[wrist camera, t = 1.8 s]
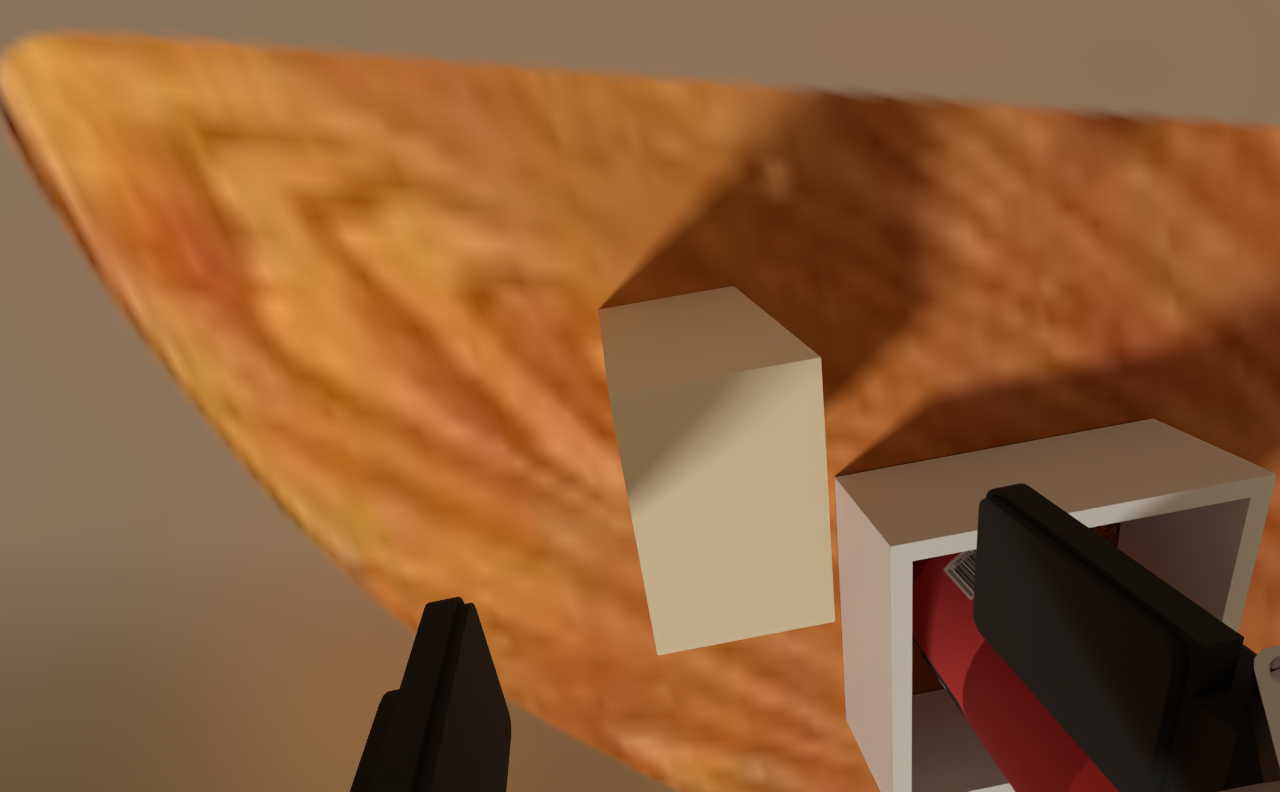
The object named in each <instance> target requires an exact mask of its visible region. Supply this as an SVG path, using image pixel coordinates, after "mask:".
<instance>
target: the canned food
mask: <svg viewBox="0 0 1280 792" xmlns="http://www.w3.org/2000/svg"><path fill="white" fill-rule="evenodd" d="M975 567H976V549H975V550H969V551H964V552H959V553H954V554H948V555H943V556H938V557H932V558H927V559H922V560H917V561H916V562H915V563H914V565H913V583H912V641H913V643H914V644H915V646H916V647H917V649H918V650H919V651H920V653H921V654H922V656H923V657H924V659H925V660H926V662H927V663H928V665H929V666H930V668H931V669H932V671H933V672H934V673H935V675H936V676H937V678H938V679H939V681H940V682H941V684H942V685H943V687H944V688H945V690H946V691H947V692H948V694H949V695H950V697H951V698H952V700H953V701H954V703H955V704H956V706H957V707H958V709H959V710H960V712H961V713H962V714H963V716H964V717H965V719H966V720H967V722H968V723H969V725H970V726H971V728H972V729H973V731H974V732H975V733H976V735H977V736H978V738H979V739H980V741H981V742H982V744H983V745H984V747H985V748H986V750H987V751H988V753H989V754H990V755H991V757H992V758H993V760H994V761H995V763H996V764H997V766H998V767H999V769H1000V770H1001V772H1002V773H1003V774H1004V776H1005V777H1006V779H1007V780H1008V782H1009V783H1010V785H1011V786H1012V788H1013V789H1014V791H1015V792H1119V791H1118V790H1117V789H1116V788H1115V787H1114V786H1113V784H1112V783H1111V782H1110V781H1109V780H1108V779H1107V778H1106V776H1105V775H1104V774H1103V773H1102V772H1101V771H1100V770H1099V768H1098V767H1097V766H1096V765H1095V764H1094V763H1093V762H1092V760H1091V759H1090V758H1089V757H1088V756H1087V755H1086V754H1085V752H1084V751H1083V750H1082V749H1081V748H1080V747H1079V746H1078V744H1077V743H1076V742H1075V741H1074V740H1073V739H1072V738H1071V737H1070V735H1069V734H1068V733H1067V732H1066V731H1065V730H1064V729H1063V727H1062V726H1061V725H1060V724H1059V723H1058V722H1057V721H1056V719H1055V718H1054V717H1053V716H1052V715H1051V714H1050V713H1049V711H1048V710H1047V709H1046V708H1045V707H1044V706H1043V705H1042V703H1041V702H1040V701H1039V700H1038V699H1037V698H1036V697H1035V695H1034V694H1033V693H1032V692H1031V691H1030V690H1029V689H1028V688H1027V686H1026V685H1025V684H1024V683H1023V682H1022V681H1021V680H1020V678H1019V677H1018V676H1017V675H1016V674H1015V673H1014V672H1013V670H1012V669H1011V668H1010V667H1009V666H1008V665H1007V664H1006V662H1005V661H1004V660H1003V659H1002V658H1001V657H1000V656H999V654H998V653H997V652H996V651H995V650H994V649H993V648H992V646H991V645H990V644H989V643H988V642H987V641H986V640H985V639H984V637H983V636H982V635H981V634H980V632H979V631H978V629H977V627H976V624H975V622H974V618H973V603H974V585H975ZM1242 646H1243V647H1244V648H1246V649H1247V650H1248V651H1250V652H1251V653H1253V654H1254V655H1255V656H1257V654H1256V653H1255V652H1253V651H1252V650H1250V649H1249V648H1248V647H1246V646H1245V645H1243V644H1242Z"/></svg>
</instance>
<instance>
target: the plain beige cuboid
mask: <svg viewBox="0 0 1280 792" xmlns="http://www.w3.org/2000/svg"><path fill="white" fill-rule="evenodd" d="M598 311H599V319H600V327H601V336H602V344H603V352H604V360H605V368H606V376H607V385H608V393H609V399H610V404H611V410H612V415H613V420H614V426H615V431H616V436H617V442H618V447H619V452H620V458H621V463H622V468H623V474H624V479H625V484H626V490H627V495H628V500H629V505H630V511H631V516H632V521H633V527H634V532H635V537H636V543H637V548H638V553H639V559H640V564H641V569H642V575H643V580H644V585H645V591H646V596H647V601H648V607H649V612H650V617H651V623H652V628H653V633H654V639H655V644H656V649H657V655H663V654H668V653H673V652H678V651H684V650H689V649H694V648H699V647H705V646H710V645H715V644H720V643H725V642H731V641H736V640H741V639H746V638H752V637H757V636H762V635H767V634H772V633H778V632H783V631H788V630H793V629H799V628H804V627H809V626H814V625H819V624H825V623H830V622H835V612H834V593H833V574H832V555H831V536H830V517H829V498H828V479H827V459H826V440H825V421H824V402H823V383H822V364H821V357H820V356H819V355H818V354H817V353H815V352H814V351H813V350H812V349H810V348H809V347H808V346H807V345H805V344H804V343H803V342H802V341H801V340H799V339H798V338H797V337H796V336H794V335H793V334H792V333H791V332H790V331H788V330H787V329H786V328H785V327H783V326H782V325H781V324H780V323H778V322H777V321H776V320H775V319H774V318H772V317H771V316H770V315H769V314H767V313H766V312H765V311H764V310H763V309H761V308H760V307H759V306H758V305H756V304H755V303H754V302H753V301H751V300H750V299H749V298H748V297H747V296H745V295H744V294H743V293H742V292H740V291H739V290H738V289H737V288H736V287H734V286H730V287H724V288H718V289H713V290H707V291H701V292H696V293H690V294H684V295H678V296H673V297H667V298H661V299H656V300H650V301H644V302H638V303H633V304H627V305H621V306H616V307H610V308H604V309H598Z"/></svg>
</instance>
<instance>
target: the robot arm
mask: <svg viewBox="0 0 1280 792" xmlns="http://www.w3.org/2000/svg"><path fill="white" fill-rule="evenodd" d="M973 618H974V622H975V624H976V627H977V629H978V631H979V632H980V634H981V635H982V636H983V637H984V639H985V640H986V641H987V642H988V643H989V644H990V645H991V646H992V648H993V649H994V650H995V651H996V652H997V653H998V654H999V656H1000V657H1001V658H1002V659H1003V660H1004V661H1005V662H1006V664H1007V665H1008V666H1009V667H1010V668H1011V669H1012V670H1013V672H1014V673H1015V674H1016V675H1017V676H1018V677H1019V678H1020V680H1021V681H1022V682H1023V683H1024V684H1025V685H1026V686H1027V688H1028V689H1029V690H1030V691H1031V692H1032V693H1033V694H1034V695H1035V697H1036V698H1037V699H1038V700H1039V701H1040V702H1041V703H1042V705H1043V706H1044V707H1045V708H1046V709H1047V710H1048V711H1049V713H1050V714H1051V715H1052V716H1053V717H1054V718H1055V719H1056V721H1057V722H1058V723H1059V724H1060V725H1061V726H1062V727H1063V729H1064V730H1065V731H1066V732H1067V733H1068V734H1069V735H1070V737H1071V738H1072V739H1073V740H1074V741H1075V742H1076V743H1077V744H1078V746H1079V747H1080V748H1081V749H1082V750H1083V751H1084V752H1085V754H1086V755H1087V756H1088V757H1089V758H1090V759H1091V760H1092V762H1093V763H1094V764H1095V765H1096V766H1097V767H1098V768H1099V770H1100V771H1101V772H1102V773H1103V774H1104V775H1105V776H1106V778H1107V779H1108V780H1109V781H1110V782H1111V783H1112V784H1113V786H1114V787H1115V788H1116V789H1117V790H1118V791H1119V792H1280V646H1274V647H1271V648H1268V649H1264V650H1262V651H1261V652H1260V653H1259V654H1258V655H1257V656H1255V655H1254V654H1253V653H1251V652H1250V651H1248V650H1247V649H1246V648H1244V647H1243V646H1242V644H1243V640H1244V637H1243V636H1242V635H1240V634H1239V633H1237V632H1236V631H1234V630H1233V629H1232V628H1230V627H1229V626H1227V625H1226V624H1225V623H1223V622H1222V621H1220V620H1219V619H1217V618H1216V617H1215V616H1213V615H1212V614H1210V613H1209V612H1207V611H1206V610H1205V609H1203V608H1202V607H1200V606H1199V605H1198V604H1196V603H1195V602H1193V601H1192V600H1190V599H1189V598H1188V597H1186V596H1185V595H1183V594H1182V593H1180V592H1179V591H1178V590H1176V589H1175V588H1173V587H1172V586H1171V585H1169V584H1168V583H1166V582H1165V581H1163V580H1162V579H1161V578H1159V577H1158V576H1156V575H1155V574H1153V573H1152V572H1151V571H1149V570H1148V569H1146V568H1145V567H1144V566H1142V565H1141V564H1139V563H1138V562H1136V561H1135V560H1134V559H1132V558H1131V557H1129V556H1128V555H1126V554H1125V553H1124V552H1122V551H1121V550H1119V549H1118V548H1117V547H1115V546H1114V545H1112V544H1111V543H1109V542H1108V541H1107V540H1105V539H1104V538H1102V537H1101V536H1099V535H1098V534H1097V533H1095V532H1094V531H1092V530H1091V529H1089V528H1088V527H1087V526H1085V525H1084V524H1082V523H1081V522H1080V521H1078V520H1077V519H1075V518H1074V517H1072V516H1071V515H1070V514H1068V513H1067V512H1065V511H1064V510H1062V509H1061V508H1060V507H1058V506H1057V505H1055V504H1054V503H1053V502H1051V501H1050V500H1048V499H1047V498H1045V497H1044V496H1043V495H1041V494H1040V493H1038V492H1037V491H1035V490H1034V489H1033V488H1031V487H1030V486H1028V485H1026V484H1023V483H1019V484H1014V485H1009V486H1004V487H999V488H994V489H991V490H989V491H988V493H987V494H986V498H985V499H982V500H981V501H980V503H979V512H978V530H977V548H976V567H975V585H974V603H973ZM510 741H511V721H510V715H509V711H508V708H507V705H506V702H505V698H504V695H503V692H502V689H501V686H500V683H499V680H498V676H497V673H496V670H495V667H494V664H493V661H492V658H491V654H490V651H489V648H488V645H487V642H486V639H485V635H484V632H483V629H482V626H481V623H480V620H479V617H478V613H477V610H476V608H475V605H474V604H473V603H468V604H464V602H463V600H462V598H461V597H455V598H450V599H445V600H440V601H435V602H430V603H428V604H426V606H425V608H424V611H423V615H422V618H421V621H420V624H419V628H418V631H417V634H416V637H415V641H414V644H413V647H412V651H411V654H410V657H409V660H408V663H407V667H406V670H405V673H404V676H403V680H402V683H401V686H400V689H398V690H393V691H388V692H387V693H386V694H385V695H384V696H383V697H382V700H381V702H380V704H379V707H378V710H377V713H376V716H375V719H374V722H373V725H372V728H371V730H370V733H369V736H368V739H367V742H366V745H365V749H364V751H363V754H362V757H361V760H360V763H359V766H358V769H357V772H356V775H355V778H354V781H353V784H352V787H351V790H350V792H506V786H507V776H508V765H509V764H508V763H509V753H510Z"/></svg>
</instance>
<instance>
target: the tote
mask: <svg viewBox="0 0 1280 792" xmlns="http://www.w3.org/2000/svg"><path fill="white" fill-rule="evenodd" d="M1276 476H1277V474H1276V473H1274V472H1272V471H1269V470H1267V469H1265V468H1263V467H1260V466H1258V465H1256V464H1254V463H1252V462H1249V461H1247V460H1245V459H1243V458H1240V457H1238V456H1236V455H1234V454H1232V453H1229V452H1227V451H1225V450H1223V449H1220V448H1218V447H1216V446H1214V445H1211V444H1209V443H1207V442H1205V441H1203V440H1200V439H1198V438H1196V437H1194V436H1191V435H1189V434H1187V433H1185V432H1183V431H1180V430H1178V429H1176V428H1174V427H1171V426H1169V425H1167V424H1165V423H1163V422H1160V421H1158V420H1156V419H1154V418H1153V419H1147V420H1142V421H1136V422H1131V423H1126V424H1120V425H1115V426H1109V427H1104V428H1099V429H1093V430H1088V431H1082V432H1077V433H1071V434H1066V435H1061V436H1055V437H1050V438H1044V439H1039V440H1034V441H1028V442H1023V443H1017V444H1012V445H1006V446H1001V447H996V448H990V449H985V450H979V451H974V452H969V453H963V454H958V455H952V456H947V457H941V458H936V459H931V460H925V461H920V462H914V463H909V464H904V465H898V466H893V467H887V468H882V469H876V470H871V471H866V472H860V473H855V474H849V475H844V476H839V477H835V495H836V516H837V537H838V558H839V579H840V599H841V620H842V641H843V662H844V683H845V704H846V720H847V722H848V724H849V727H850V729H851V731H852V733H853V735H854V737H855V739H856V741H857V743H858V745H859V748H860V750H861V752H862V754H863V756H864V758H865V760H866V762H867V764H868V766H869V769H870V771H871V773H872V775H873V777H874V779H875V781H876V783H877V785H878V788H879V790H880V792H1015V791H1014V789H1013V788H1012V786H1011V785H1010V783H1009V782H1008V780H1007V779H1006V777H1005V776H1004V774H1003V773H1002V772H1001V770H1000V769H999V767H998V766H997V764H996V763H995V761H994V760H993V758H992V757H991V755H990V754H989V753H988V751H987V750H986V748H985V747H984V745H983V744H982V742H981V741H980V739H979V738H978V736H977V735H976V733H975V732H974V731H973V729H972V728H971V726H970V725H969V723H968V722H967V720H966V719H965V717H964V716H963V714H962V713H961V712H960V710H959V709H958V707H957V706H956V704H955V703H954V701H953V700H952V698H951V697H950V695H949V694H948V692H947V691H946V690H945V689H941V690H936V691H931V692H926V693H921V694H916V695H912V583H913V561H917V560H922V559H927V558H932V557H938V556H943V555H948V554H954V553H959V552H964V551H969V550H975V549H976V548H977V530H978V512H979V503H980V501H981V500H982V499H985V498H986V494H987V493H988V491H989V490H991V489H994V488H999V487H1004V486H1009V485H1014V484H1019V483H1023V484H1026V485H1028V486H1030V487H1031V488H1033V489H1034V490H1035V491H1037V492H1038V493H1040V494H1041V495H1043V496H1044V497H1045V498H1047V499H1048V500H1050V501H1051V502H1053V503H1054V504H1055V505H1057V506H1058V507H1060V508H1061V509H1062V510H1064V511H1065V512H1067V513H1068V514H1070V515H1071V516H1072V517H1074V518H1075V519H1077V520H1078V521H1080V522H1081V523H1082V524H1084V525H1085V526H1087V527H1088V528H1091V527H1096V526H1102V525H1107V524H1112V523H1117V522H1121V524H1120V531H1119V538H1118V545H1117V548H1118V549H1119V550H1121V551H1122V552H1124V553H1125V554H1126V555H1128V556H1129V557H1131V558H1132V559H1134V560H1135V561H1136V562H1138V563H1139V564H1141V565H1142V566H1144V567H1145V568H1146V569H1148V570H1149V571H1151V572H1152V573H1153V574H1155V575H1156V576H1158V577H1159V578H1161V579H1162V580H1163V581H1165V582H1166V583H1168V584H1169V585H1171V586H1172V587H1173V588H1175V589H1176V590H1178V591H1179V592H1180V593H1182V594H1183V595H1185V596H1186V597H1188V598H1189V599H1190V600H1192V601H1193V602H1195V603H1196V604H1198V605H1199V606H1200V607H1202V608H1203V609H1205V610H1206V611H1207V612H1209V613H1210V614H1212V615H1213V616H1215V617H1216V618H1217V619H1219V620H1220V621H1222V622H1223V623H1225V624H1226V625H1227V626H1229V627H1230V628H1232V629H1233V630H1234V631H1236V632H1237V633H1238V630H1239V626H1240V622H1241V618H1242V614H1243V610H1244V606H1245V601H1246V597H1247V593H1248V589H1249V585H1250V581H1251V577H1252V573H1253V569H1254V565H1255V561H1256V557H1257V553H1258V549H1259V545H1260V541H1261V536H1262V532H1263V528H1264V524H1265V520H1266V516H1267V512H1268V508H1269V504H1270V500H1271V496H1272V492H1273V488H1274V484H1275V480H1276Z"/></svg>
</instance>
